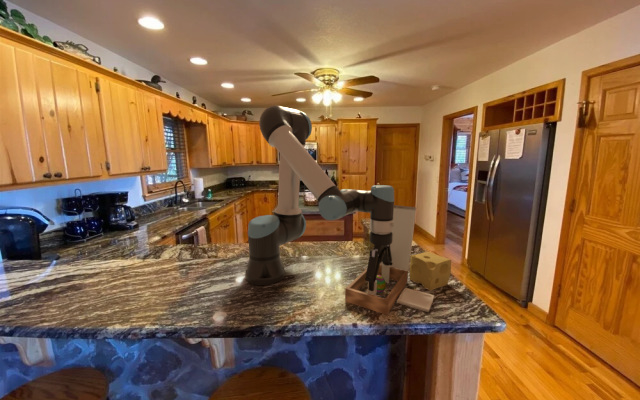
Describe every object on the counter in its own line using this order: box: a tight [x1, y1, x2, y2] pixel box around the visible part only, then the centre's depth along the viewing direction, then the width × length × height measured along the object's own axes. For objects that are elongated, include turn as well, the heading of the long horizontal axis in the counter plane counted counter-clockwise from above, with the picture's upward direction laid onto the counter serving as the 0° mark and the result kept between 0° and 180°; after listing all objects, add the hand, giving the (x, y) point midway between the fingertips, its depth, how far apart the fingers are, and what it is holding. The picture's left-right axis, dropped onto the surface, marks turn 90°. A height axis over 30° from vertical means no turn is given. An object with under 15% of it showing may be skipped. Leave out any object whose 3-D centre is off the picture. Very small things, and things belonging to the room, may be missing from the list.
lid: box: [380, 204, 417, 272], centre depth 102 cm, size 14×24×1 cm
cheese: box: [409, 251, 452, 292], centre depth 98 cm, size 10×11×10 cm
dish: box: [396, 287, 435, 313], centre depth 85 cm, size 10×10×1 cm
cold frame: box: [344, 265, 409, 316], centre depth 92 cm, size 14×29×14 cm, turn 148°
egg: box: [376, 275, 387, 295], centre depth 91 cm, size 5×5×6 cm
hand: (378, 289), depth 91 cm, fingers open, 13 cm apart
